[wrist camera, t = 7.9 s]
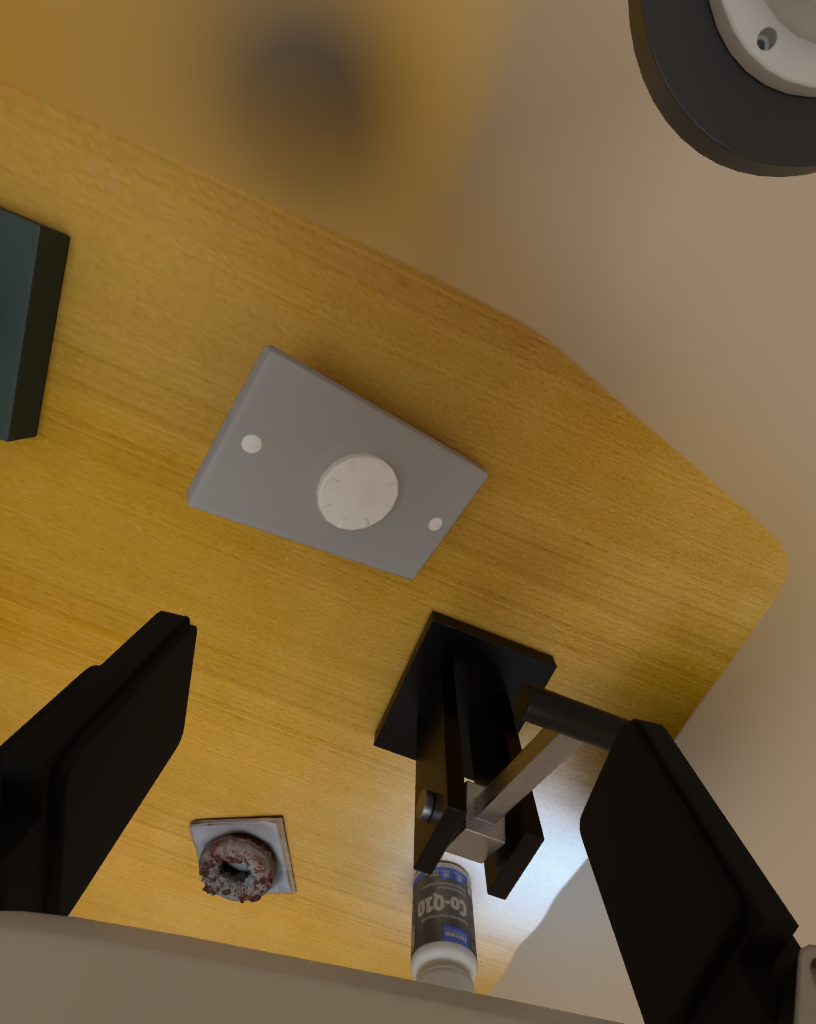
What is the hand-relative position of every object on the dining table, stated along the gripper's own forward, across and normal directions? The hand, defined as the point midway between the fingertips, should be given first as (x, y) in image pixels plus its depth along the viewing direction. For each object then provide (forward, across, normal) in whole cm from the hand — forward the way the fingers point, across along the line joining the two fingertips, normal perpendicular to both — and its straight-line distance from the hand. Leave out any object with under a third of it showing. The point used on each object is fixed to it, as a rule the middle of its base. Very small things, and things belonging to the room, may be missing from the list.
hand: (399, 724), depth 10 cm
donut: (+22, +6, +34) cm, 40 cm away
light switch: (+21, +4, 0) cm, 22 cm away
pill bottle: (+22, -10, +32) cm, 40 cm away
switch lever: (+11, -8, +9) cm, 16 cm away
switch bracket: (+21, -7, +14) cm, 26 cm away
